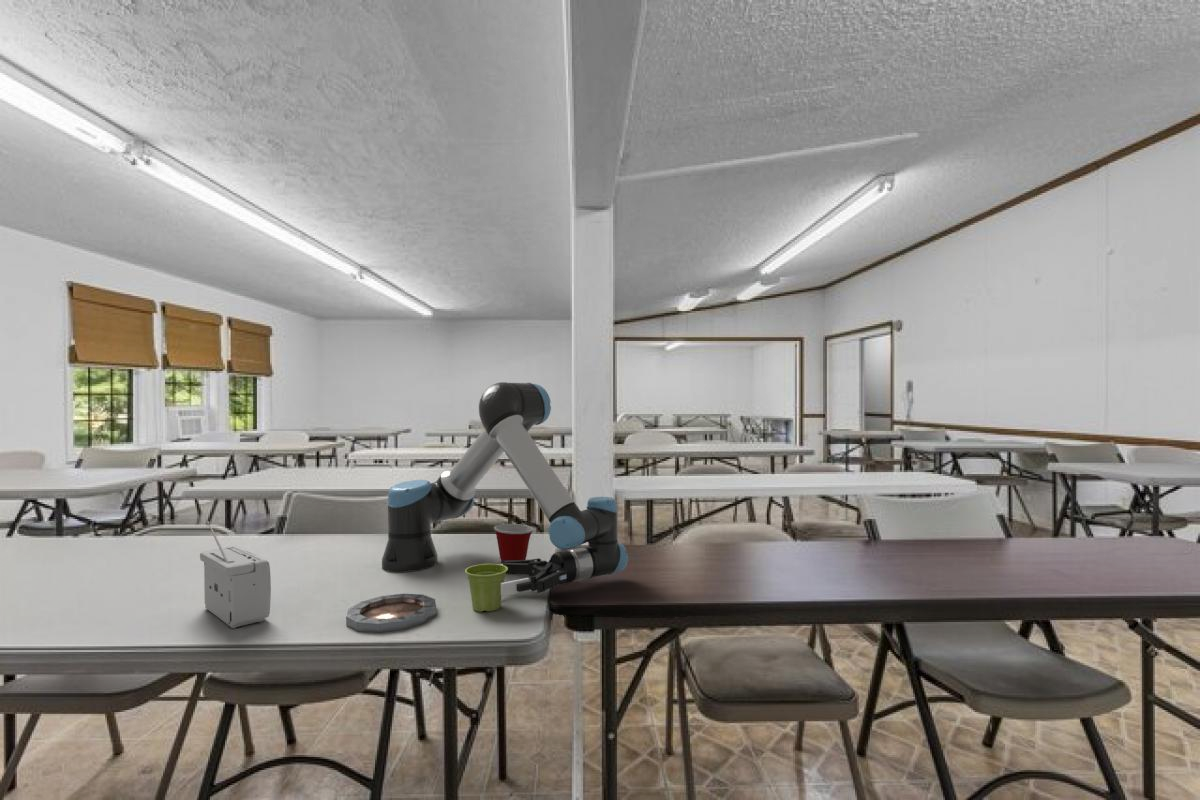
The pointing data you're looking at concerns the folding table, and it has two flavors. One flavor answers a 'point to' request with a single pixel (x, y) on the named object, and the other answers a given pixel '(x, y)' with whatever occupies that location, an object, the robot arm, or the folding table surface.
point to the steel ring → (391, 613)
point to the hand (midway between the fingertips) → (488, 581)
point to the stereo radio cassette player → (236, 585)
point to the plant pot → (486, 585)
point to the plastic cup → (513, 541)
